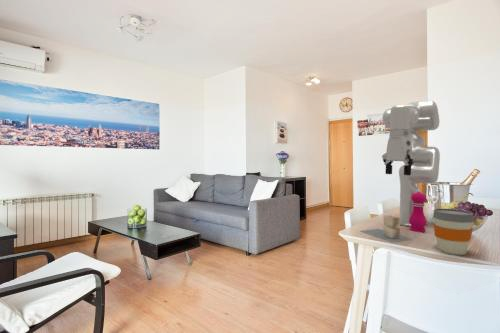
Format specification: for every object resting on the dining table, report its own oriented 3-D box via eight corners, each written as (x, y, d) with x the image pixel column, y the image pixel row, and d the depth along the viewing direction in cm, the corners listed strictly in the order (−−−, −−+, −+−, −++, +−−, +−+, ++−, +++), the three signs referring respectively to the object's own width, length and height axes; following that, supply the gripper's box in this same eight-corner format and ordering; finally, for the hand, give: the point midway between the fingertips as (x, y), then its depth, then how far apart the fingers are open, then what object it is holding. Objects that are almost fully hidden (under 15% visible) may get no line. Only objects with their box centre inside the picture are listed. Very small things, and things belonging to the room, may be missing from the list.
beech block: (390, 235, 127) (391, 215, 126) (399, 238, 122) (400, 217, 122) (383, 236, 125) (383, 216, 125) (391, 239, 121) (392, 218, 120)
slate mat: (378, 229, 138) (378, 228, 138) (413, 240, 120) (413, 239, 120) (358, 231, 134) (358, 230, 134) (392, 243, 116) (392, 242, 116)
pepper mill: (420, 233, 131) (421, 190, 131) (405, 230, 138) (406, 188, 137) (429, 231, 135) (431, 189, 134) (414, 228, 141) (416, 188, 140)
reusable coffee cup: (459, 258, 100) (461, 216, 99) (424, 247, 111) (426, 209, 110) (479, 253, 105) (481, 213, 104) (444, 243, 116) (445, 207, 116)
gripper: (423, 133, 115) (422, 175, 115) (390, 137, 131) (388, 173, 131) (409, 132, 112) (408, 175, 113) (377, 135, 129) (375, 173, 129)
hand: (397, 174), depth 122 cm, fingers open, 9 cm apart
